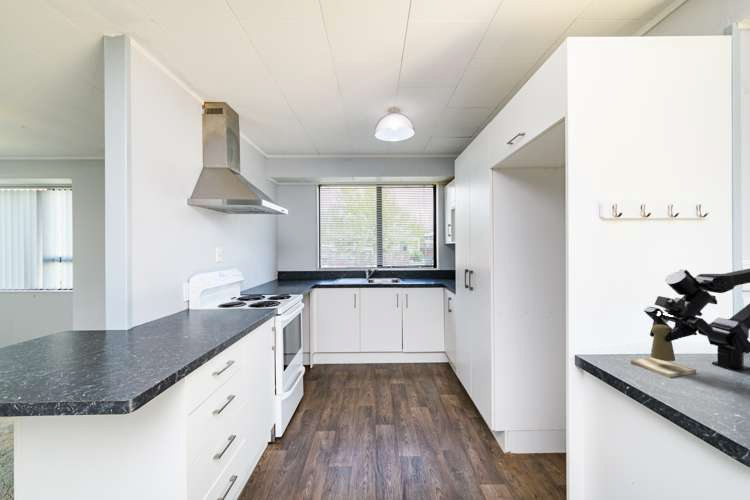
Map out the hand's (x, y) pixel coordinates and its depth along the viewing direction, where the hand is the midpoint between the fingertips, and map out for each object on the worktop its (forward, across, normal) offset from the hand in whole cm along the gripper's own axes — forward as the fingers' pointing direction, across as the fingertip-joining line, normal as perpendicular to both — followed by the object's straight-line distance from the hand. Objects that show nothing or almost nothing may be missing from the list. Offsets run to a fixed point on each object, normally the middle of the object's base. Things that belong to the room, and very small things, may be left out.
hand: (658, 338), depth 102 cm
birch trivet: (+6, 0, +8) cm, 10 cm away
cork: (+4, 0, +6) cm, 7 cm away
